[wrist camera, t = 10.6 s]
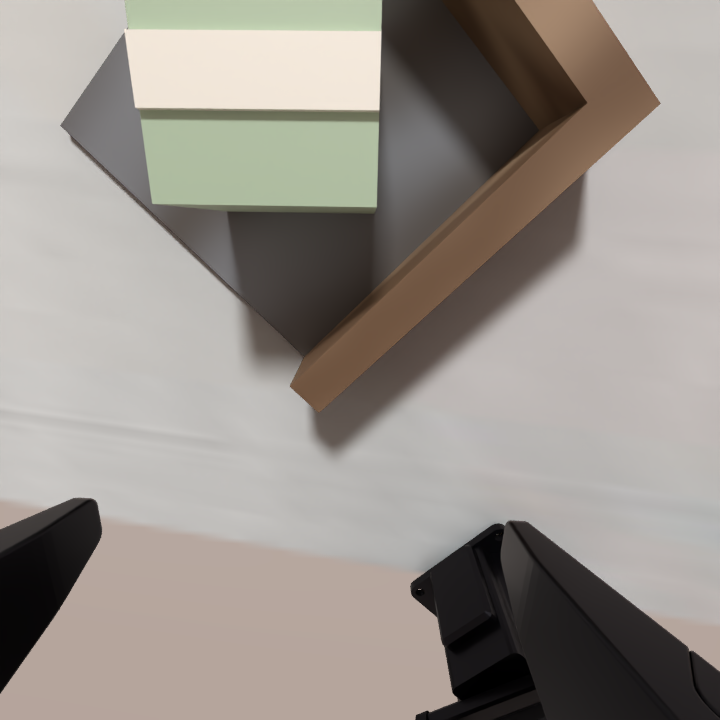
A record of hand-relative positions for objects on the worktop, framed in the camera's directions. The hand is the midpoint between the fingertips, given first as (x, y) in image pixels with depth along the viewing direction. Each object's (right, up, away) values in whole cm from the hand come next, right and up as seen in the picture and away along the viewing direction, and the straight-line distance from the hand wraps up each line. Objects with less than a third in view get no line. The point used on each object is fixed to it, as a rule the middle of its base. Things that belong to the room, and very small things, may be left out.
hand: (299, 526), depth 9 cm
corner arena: (0, +13, +7) cm, 14 cm away
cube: (-1, +13, +7) cm, 14 cm away
